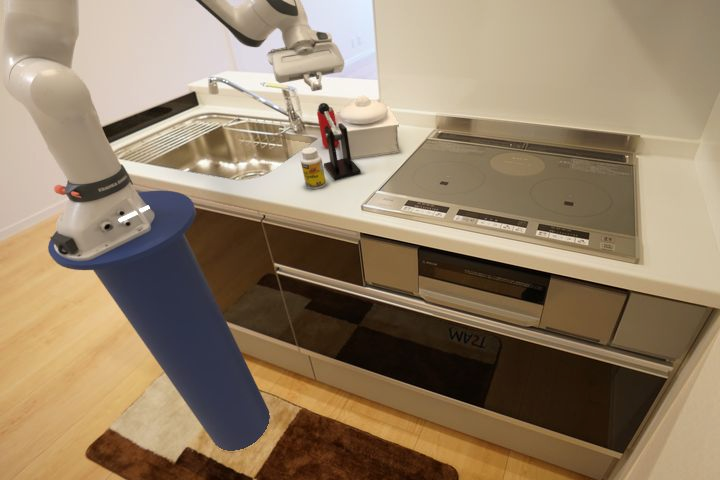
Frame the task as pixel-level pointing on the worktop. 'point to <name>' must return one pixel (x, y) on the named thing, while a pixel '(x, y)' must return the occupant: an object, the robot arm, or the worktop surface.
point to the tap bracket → (341, 166)
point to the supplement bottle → (312, 168)
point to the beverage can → (324, 123)
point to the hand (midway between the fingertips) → (317, 89)
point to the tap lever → (330, 121)
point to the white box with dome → (369, 128)
